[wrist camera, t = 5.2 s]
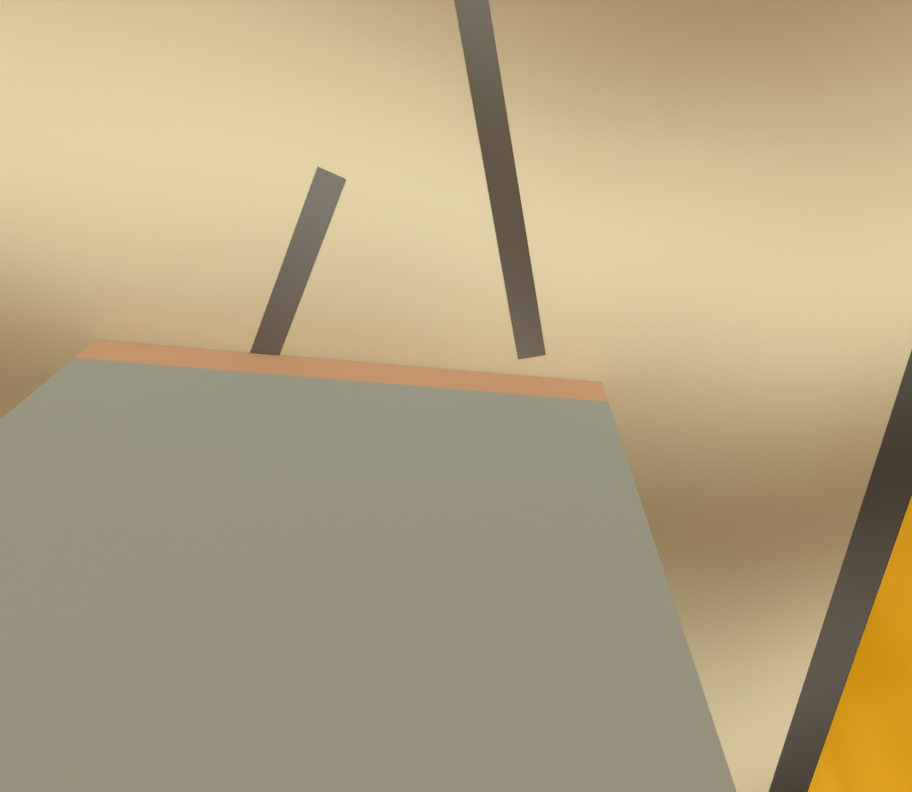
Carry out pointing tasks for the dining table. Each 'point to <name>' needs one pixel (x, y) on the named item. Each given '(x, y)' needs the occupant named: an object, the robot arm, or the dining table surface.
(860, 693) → the dining table surface
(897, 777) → the dining table surface
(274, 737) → the block
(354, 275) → the board
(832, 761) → the dining table surface
